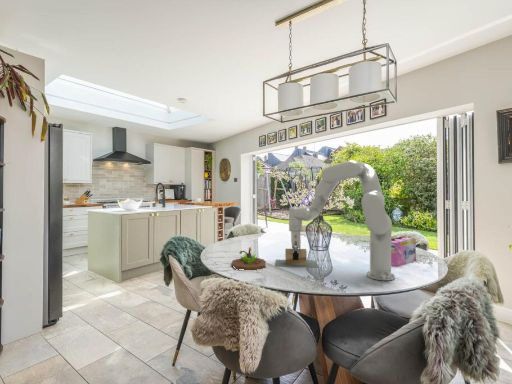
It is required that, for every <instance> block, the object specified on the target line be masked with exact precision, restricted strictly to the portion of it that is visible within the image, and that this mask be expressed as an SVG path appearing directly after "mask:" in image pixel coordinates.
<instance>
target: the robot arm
mask: <svg viewBox="0 0 512 384" xmlns="http://www.w3.org/2000/svg"><path fill="white" fill-rule="evenodd" d="M320 176H321V180H319V182H318V184H317V186H316V187H315V188H314V197H313V199H312V201H311V203H310V204H309V206H306V207H300V206H291V207H289V210H288V231H289V232H290V235H291V236H290V238H291V239H290V241H291V249H293V260H298V259H299V253H298V249H302V248H301V247H302V246H301V245H302V244H301V241H302V240H301V239H302V237H301V232H302V231H303V221H304V222H309V221H312V220H315V219H316V218H317V217H319V215H320V214H321V213H322V211H323V210H324V209H325V206H326V204H327V202H328V200H329V197H330V196H331V194H332V193H333V191H334V190H335V188H336V187H337V186H338V184H339V183H340V181H344V180H347V179H352V178H353V179H354V178H355V179H359V180H360V185H361V189H362V193H363V196H362V197H361V200H360V201H361V208H362V213H363V216H364V221H365V224H366V227H367V229H368V230H369V231H370V237H369V270H368V271H367V272H366V276H367V277H368V278H370V279H373V280H377V281H384V282H385V281H387V282H388V281H393V280H395V276H396V275H395V274H394V273H392V266H391V239H392V234H393V233H392V230H393V223H392V219H391V217H390V216H389V215H388V214H387V212H386V209H385V203H386V200H385V197H384V193H383V190H382V187H381V183H380V181H379V176H378V173H377V172H376V170H375V169H374V168H373V166H371V165H370V164H368V163H365V162H361V161H357V160H351V159H350V160H347V161H343V162H340V163H336V164H333V165H329V166H326V167H325V168H323V170H322V171H321V173H320Z"/></svg>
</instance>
